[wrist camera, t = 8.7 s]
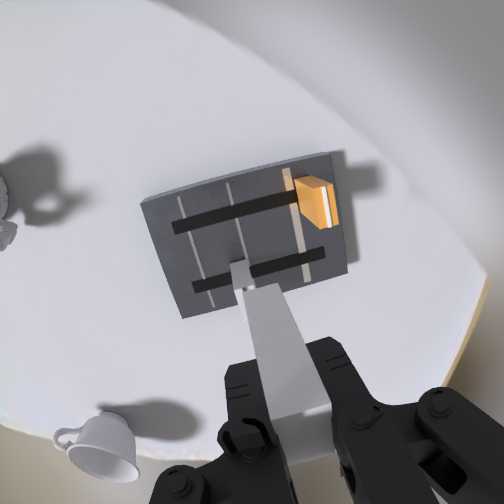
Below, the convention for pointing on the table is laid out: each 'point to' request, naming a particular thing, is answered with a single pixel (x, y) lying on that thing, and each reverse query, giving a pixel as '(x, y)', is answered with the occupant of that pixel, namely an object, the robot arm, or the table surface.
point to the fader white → (241, 283)
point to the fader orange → (317, 201)
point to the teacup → (103, 448)
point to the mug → (5, 231)
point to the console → (243, 234)
